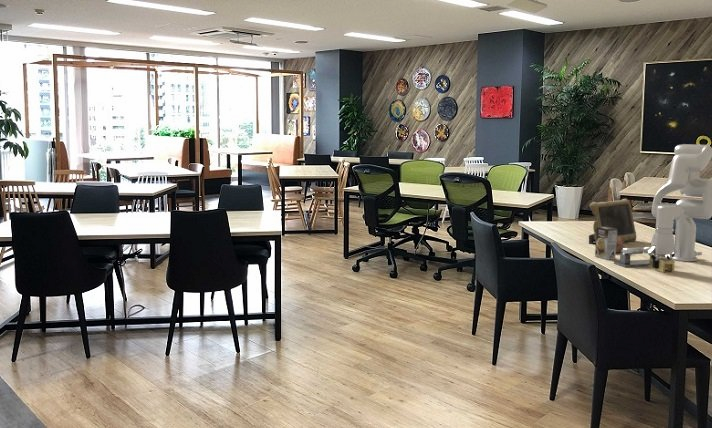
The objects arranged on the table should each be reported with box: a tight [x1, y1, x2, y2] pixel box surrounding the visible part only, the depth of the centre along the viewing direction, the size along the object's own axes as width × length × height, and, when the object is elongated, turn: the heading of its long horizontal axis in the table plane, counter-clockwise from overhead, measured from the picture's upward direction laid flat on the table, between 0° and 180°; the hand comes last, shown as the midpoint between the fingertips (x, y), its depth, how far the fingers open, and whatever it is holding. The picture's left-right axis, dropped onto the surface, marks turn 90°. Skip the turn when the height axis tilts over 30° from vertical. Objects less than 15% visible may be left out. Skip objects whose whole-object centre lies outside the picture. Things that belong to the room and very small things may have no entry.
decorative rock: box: [616, 235, 625, 253], centre depth 362 cm, size 13×11×10 cm
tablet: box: [588, 198, 637, 245], centre depth 388 cm, size 33×14×25 cm, turn 126°
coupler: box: [648, 256, 676, 274], centre depth 318 cm, size 10×6×6 cm, turn 13°
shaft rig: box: [613, 246, 666, 268], centre depth 330 cm, size 26×9×8 cm, turn 103°
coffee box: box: [594, 226, 618, 261], centre depth 345 cm, size 9×6×16 cm
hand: (661, 267), depth 319 cm, fingers closed on coupler, 6 cm apart
